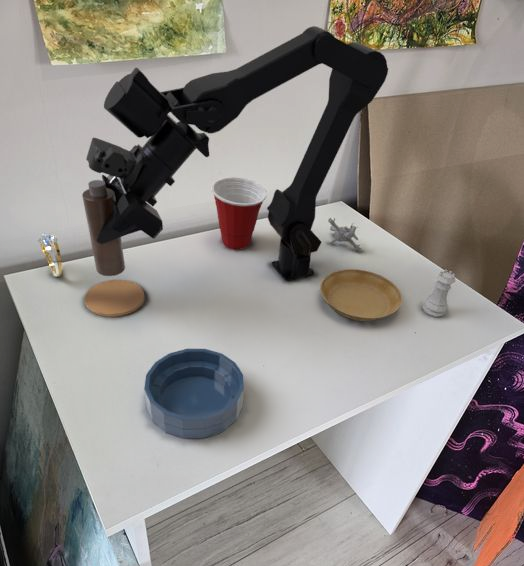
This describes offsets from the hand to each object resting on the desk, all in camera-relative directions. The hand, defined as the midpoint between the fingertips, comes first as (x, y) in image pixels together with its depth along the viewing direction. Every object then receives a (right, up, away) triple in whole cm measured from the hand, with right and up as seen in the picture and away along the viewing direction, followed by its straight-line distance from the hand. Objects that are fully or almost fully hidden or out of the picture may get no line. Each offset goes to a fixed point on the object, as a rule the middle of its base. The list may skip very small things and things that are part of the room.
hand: (96, 234), depth 76 cm
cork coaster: (0, -9, +9) cm, 13 cm away
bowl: (+16, -26, -7) cm, 31 cm away
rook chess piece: (+57, -11, +14) cm, 60 cm away
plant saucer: (+44, -10, +14) cm, 47 cm away
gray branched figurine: (+42, +4, +29) cm, 51 cm away
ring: (-12, -4, +13) cm, 18 cm away
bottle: (+1, -4, +5) cm, 7 cm away
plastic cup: (+21, +4, +26) cm, 34 cm away
